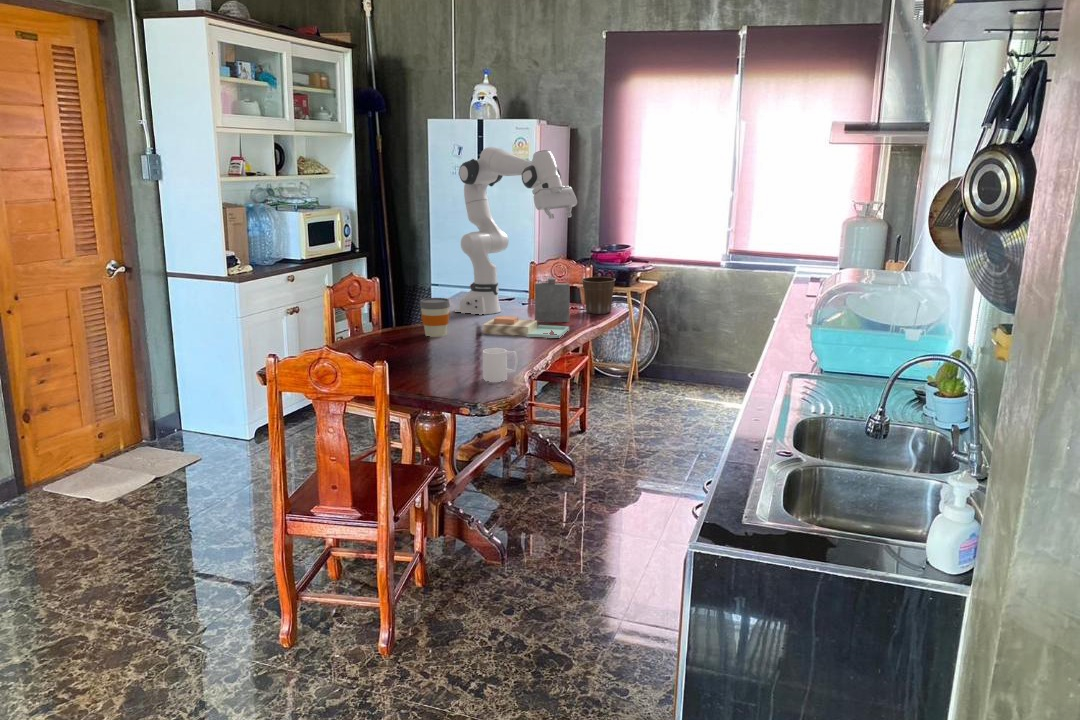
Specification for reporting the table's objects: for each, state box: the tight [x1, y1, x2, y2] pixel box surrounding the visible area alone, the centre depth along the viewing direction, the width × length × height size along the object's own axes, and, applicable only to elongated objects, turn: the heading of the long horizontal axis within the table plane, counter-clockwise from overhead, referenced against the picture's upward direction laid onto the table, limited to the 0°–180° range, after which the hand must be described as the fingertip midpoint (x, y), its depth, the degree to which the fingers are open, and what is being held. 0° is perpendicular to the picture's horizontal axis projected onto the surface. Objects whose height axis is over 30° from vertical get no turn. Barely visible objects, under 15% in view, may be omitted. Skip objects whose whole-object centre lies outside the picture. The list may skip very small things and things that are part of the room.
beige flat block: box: [482, 317, 538, 337], centre depth 354 cm, size 20×14×4 cm
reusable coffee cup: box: [419, 297, 451, 338], centre depth 347 cm, size 13×13×15 cm
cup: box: [482, 347, 519, 383], centre depth 280 cm, size 8×12×10 cm
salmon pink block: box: [494, 315, 519, 324], centre depth 353 cm, size 9×6×2 cm, turn 74°
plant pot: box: [581, 276, 616, 315], centre depth 393 cm, size 16×16×16 cm
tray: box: [526, 324, 570, 339], centre depth 350 cm, size 14×18×2 cm
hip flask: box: [534, 277, 571, 323], centre depth 372 cm, size 16×4×20 cm, turn 81°
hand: (560, 217), depth 344 cm, fingers open, 8 cm apart
